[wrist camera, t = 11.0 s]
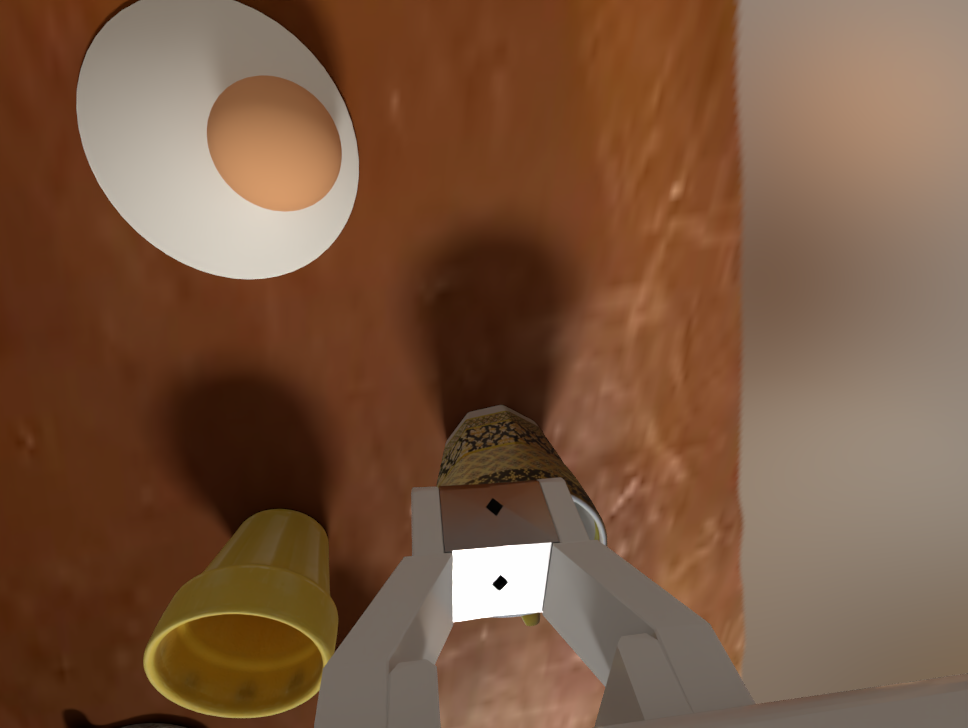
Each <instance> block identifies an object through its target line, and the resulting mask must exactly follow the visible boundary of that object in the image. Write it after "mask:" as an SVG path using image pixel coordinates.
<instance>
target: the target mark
mask: <svg viewBox="0 0 968 728" xmlns="http://www.w3.org/2000/svg"><path fill="white" fill-rule="evenodd" d="M259 75H267V76H275V77H280V78H283V79H286V80H289V81H292V82H294V83H296V84H298V85H300V86H302V87H303V88H305V89H306V90H308V91H309V92H310V93H312V94H313V95H314V96H315V97H316V98H317V99H318V100H319V101H320V102H321V103H322V104H323V105H324V107H325V108H326V109H327V111H328V112H329V114H330V115H331V117H332V119H333V121H334V123H335V125H336V128H337V130H338V133H339V136H340V141H341V148H342V160H341V167H340V172H339V175H338V178H337V180H336V182H335V184H334V185H333V187H332V189H331V190H330V191H329V192H328V193H327V195H326V196H325V197H323V198H322V199H321V200H320V201H318V202H317V203H315V204H314V205H312V206H309V207H307V208H304V209H301V210H297V211H287V212H284V211H273V210H269V209H265V208H262V207H259V206H257V205H254V204H253V203H251V202H249V201H247V200H245V199H244V198H242V197H241V196H240V195H239V194H237V193H236V192H235V191H234V190H233V189H232V188H231V187H230V186H229V185H228V184H227V183H226V182H225V181H224V179H223V178H222V177H221V175H220V174H219V172H218V171H217V169H216V167H215V165H214V163H213V160H212V158H211V155H210V152H209V148H208V143H207V122H208V118H209V114H210V111H211V108H212V106H213V104H214V103H215V101H216V100H217V98H218V96H219V95H220V94H221V93H222V92H223V91H224V90H225V89H226V88H227V87H229V86H230V85H232V84H233V83H235V82H237V81H239V80H242V79H244V78H247V77H253V76H259ZM76 109H77V118H78V127H79V132H80V136H81V140H82V144H83V148H84V151H85V154H86V156H87V159H88V162H89V165H90V167H91V169H92V171H93V173H94V175H95V177H96V179H97V181H98V183H99V185H100V186H101V188H102V190H103V191H104V193H105V194H106V196H107V197H108V199H109V200H110V202H111V203H112V204H113V206H114V207H115V208H116V209H117V211H118V212H119V213H120V214H121V216H122V217H123V218H124V219H125V220H126V221H127V222H128V223H129V224H130V225H131V226H132V227H133V228H134V229H135V230H136V231H137V232H138V233H139V234H140V235H141V236H143V237H144V238H145V239H146V240H147V241H149V242H150V243H151V244H152V245H154V246H155V247H157V248H158V249H160V250H161V251H163V252H164V253H165V254H167V255H169V256H171V257H173V258H174V259H176V260H178V261H180V262H182V263H184V264H186V265H188V266H191V267H193V268H195V269H198V270H201V271H204V272H207V273H210V274H214V275H218V276H223V277H228V278H237V279H264V278H270V277H276V276H280V275H283V274H286V273H290V272H293V271H295V270H297V269H299V268H301V267H303V266H305V265H307V264H309V263H310V262H312V261H313V260H315V259H316V258H318V257H319V256H320V255H321V254H322V253H323V252H324V251H326V250H327V249H328V248H329V247H330V246H331V244H332V243H333V242H334V241H335V240H336V238H337V237H338V236H339V234H340V233H341V231H342V229H343V228H344V226H345V224H346V223H347V220H348V218H349V216H350V213H351V211H352V209H353V205H354V201H355V198H356V194H357V187H358V179H359V156H358V148H357V140H356V136H355V132H354V128H353V124H352V121H351V118H350V116H349V113H348V110H347V108H346V105H345V103H344V101H343V99H342V97H341V95H340V93H339V91H338V89H337V87H336V85H335V84H334V82H333V81H332V79H331V78H330V76H329V74H328V73H327V71H326V70H325V68H324V67H323V66H322V65H321V63H320V62H319V61H318V60H317V59H316V57H315V56H314V55H313V54H312V52H311V51H310V50H309V49H308V48H307V47H306V46H305V45H304V44H302V43H301V42H300V41H299V40H298V39H297V38H296V37H295V36H294V35H293V34H292V33H290V32H289V31H288V30H286V29H285V28H284V27H283V26H281V25H280V24H279V23H277V22H276V21H274V20H272V19H271V18H269V17H267V16H266V15H264V14H262V13H261V12H259V11H257V10H255V9H253V8H251V7H248V6H246V5H244V4H242V3H240V2H237V1H234V0H140V1H138V2H136V3H134V4H132V5H130V6H129V7H127V8H125V9H123V10H121V11H120V12H119V13H118V14H117V15H115V16H114V17H113V18H112V19H111V20H109V21H108V22H107V23H106V24H105V26H104V27H103V28H102V29H101V31H100V32H99V33H98V34H97V35H96V37H95V38H94V40H93V42H92V44H91V46H90V47H89V49H88V51H87V53H86V56H85V58H84V61H83V64H82V67H81V70H80V75H79V81H78V86H77V106H76Z"/></svg>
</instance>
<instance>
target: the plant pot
mask: <svg viewBox="0 0 968 728" xmlns="http://www.w3.org/2000/svg"><path fill="white" fill-rule="evenodd" d="M337 630H338V612H337V608H336V606H335V603H334V601H333V600H332V598H331V597H330V584H329V547H328V537H327V534H326V532H325V530H324V529H323V527H322V526H321V525H320V524H319V523H318V522H317V521H316V520H314V519H313V518H311V517H310V516H308V515H306V514H303V513H301V512H298V511H294V510H288V509H270V510H265V511H261V512H259V513H256V514H254V515H252V516H251V517H249V518H248V519H247V520H245V521H244V522H243V523H242V525H241V526H240V527H239V528H238V530H237V531H236V532H235V533H234V535H233V536H232V537H231V538H230V540H229V541H228V542H227V543H226V545H225V546H224V547H223V548H222V550H221V551H220V552H219V553H218V555H217V556H216V557H215V558H214V560H213V561H212V562H211V563H210V565H209V566H208V567H207V568H206V569H205V571H204V572H203V573H202V574H200V575H198V576H196V577H194V578H193V579H191V580H190V581H188V582H187V583H186V584H184V585H183V586H182V587H181V588H180V589H179V591H178V592H177V593H176V594H175V596H174V597H173V599H172V600H171V602H170V604H169V605H168V607H167V609H166V610H165V612H164V614H163V615H162V617H161V619H160V621H159V622H158V624H157V626H156V628H155V630H154V632H153V634H152V636H151V638H150V640H149V642H148V644H147V646H146V649H145V652H144V658H143V663H144V669H145V672H146V675H147V677H148V679H149V681H150V682H151V684H152V685H153V686H154V687H155V688H156V689H157V690H158V691H159V692H160V693H161V694H162V695H164V696H165V697H166V698H168V699H169V700H171V701H173V702H174V703H176V704H178V705H180V706H182V707H185V708H187V709H190V710H193V711H196V712H199V713H203V714H207V715H213V716H219V717H229V718H254V717H263V716H269V715H274V714H278V713H281V712H284V711H287V710H290V709H292V708H294V707H296V706H298V705H301V704H302V703H304V702H306V701H307V700H309V699H310V698H311V697H313V696H314V695H315V694H316V693H317V692H318V691H319V690H320V685H321V678H322V672H323V668H324V667H325V665H326V664H327V662H328V661H329V660H330V658H331V657H332V656H333V654H334V651H335V645H336V638H337Z"/></svg>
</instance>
